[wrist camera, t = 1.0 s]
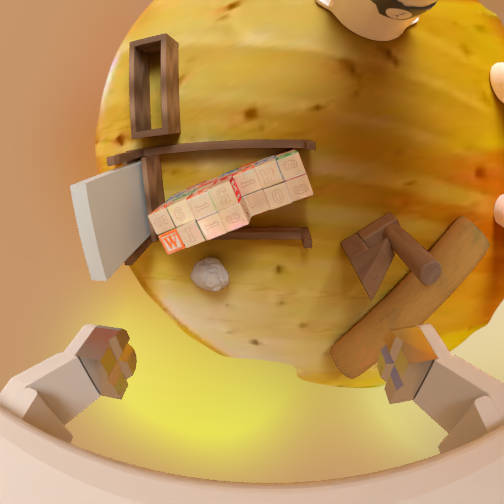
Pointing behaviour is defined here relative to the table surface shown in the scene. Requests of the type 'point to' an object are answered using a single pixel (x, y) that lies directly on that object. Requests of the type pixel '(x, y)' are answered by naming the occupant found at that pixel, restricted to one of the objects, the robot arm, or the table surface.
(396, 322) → the log
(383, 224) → the brown wedge with rod
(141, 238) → the sheet
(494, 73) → the wine bottle
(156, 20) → the table surface
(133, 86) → the holder
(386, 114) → the table surface
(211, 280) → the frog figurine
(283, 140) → the rack
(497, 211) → the cylindrical container
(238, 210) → the stack of blocks
